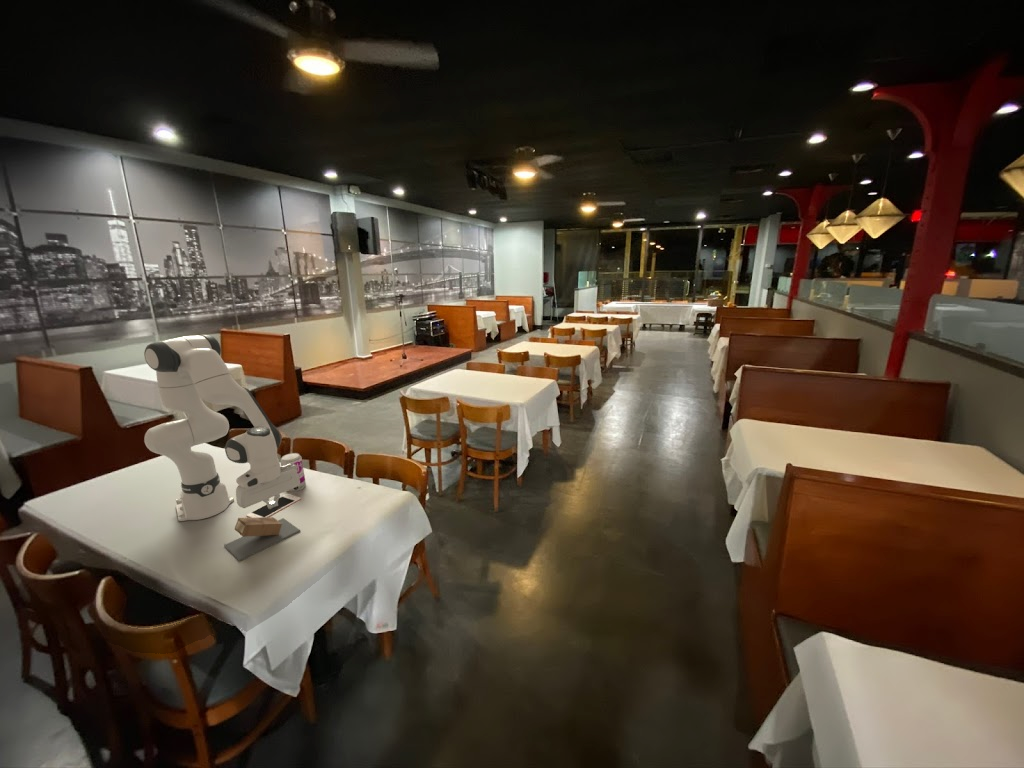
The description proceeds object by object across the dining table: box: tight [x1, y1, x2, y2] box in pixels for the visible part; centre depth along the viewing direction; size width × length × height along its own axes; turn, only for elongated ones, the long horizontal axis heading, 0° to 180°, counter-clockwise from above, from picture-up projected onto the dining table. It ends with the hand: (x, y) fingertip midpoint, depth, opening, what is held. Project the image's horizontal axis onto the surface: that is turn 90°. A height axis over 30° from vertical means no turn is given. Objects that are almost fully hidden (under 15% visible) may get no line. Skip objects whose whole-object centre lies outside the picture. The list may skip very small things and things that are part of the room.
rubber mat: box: [223, 517, 301, 562], centre depth 147 cm, size 13×20×1 cm, turn 143°
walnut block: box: [234, 516, 282, 537], centre depth 146 cm, size 7×4×12 cm
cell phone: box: [245, 493, 302, 518], centre depth 167 cm, size 9×18×1 cm, turn 154°
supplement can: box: [279, 452, 307, 492], centre depth 180 cm, size 8×8×15 cm
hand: (272, 506), depth 149 cm, fingers closed
